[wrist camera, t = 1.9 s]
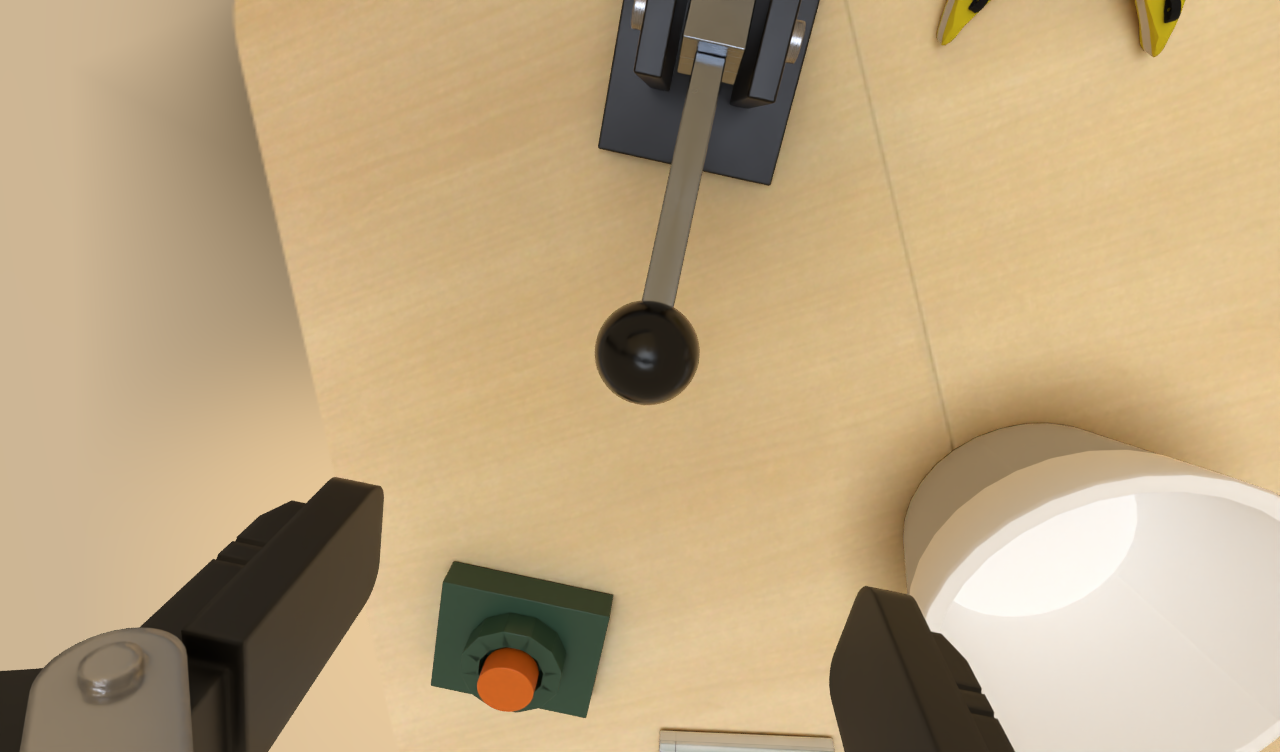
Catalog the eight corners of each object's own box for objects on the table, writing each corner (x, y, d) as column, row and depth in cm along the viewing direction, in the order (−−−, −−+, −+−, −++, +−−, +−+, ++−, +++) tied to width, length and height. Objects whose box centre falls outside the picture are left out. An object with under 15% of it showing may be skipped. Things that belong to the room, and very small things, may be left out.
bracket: (767, 184, 35) (804, 212, 24) (600, 147, 35) (560, 159, 24) (831, -56, 31) (909, -152, 20) (642, -98, 31) (618, -217, 20)
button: (481, 684, 44) (473, 705, 42) (487, 642, 43) (479, 662, 41) (534, 695, 44) (529, 717, 42) (543, 653, 43) (537, 674, 41)
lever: (683, 415, 25) (692, 414, 21) (587, 394, 25) (581, 390, 21) (763, 28, 26) (786, -35, 22) (672, 7, 26) (680, -59, 22)
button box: (441, 662, 48) (420, 707, 45) (453, 560, 45) (432, 600, 41) (590, 693, 49) (582, 741, 45) (613, 594, 45) (606, 637, 42)
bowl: (975, 327, 37) (1082, 402, 27) (1263, 462, 39) (1463, 581, 29) (805, 581, 44) (839, 718, 34) (1056, 688, 46) (1160, 847, 36)
